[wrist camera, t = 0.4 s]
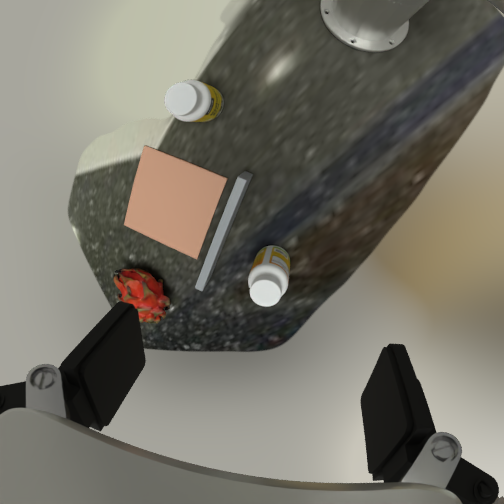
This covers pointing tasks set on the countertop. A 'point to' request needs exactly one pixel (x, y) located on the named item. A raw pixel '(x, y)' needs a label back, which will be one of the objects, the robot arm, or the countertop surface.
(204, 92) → the supplement bottle
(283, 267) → the supplement bottle
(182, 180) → the tile
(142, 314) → the dragon fruit
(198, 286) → the low wall
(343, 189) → the countertop surface
